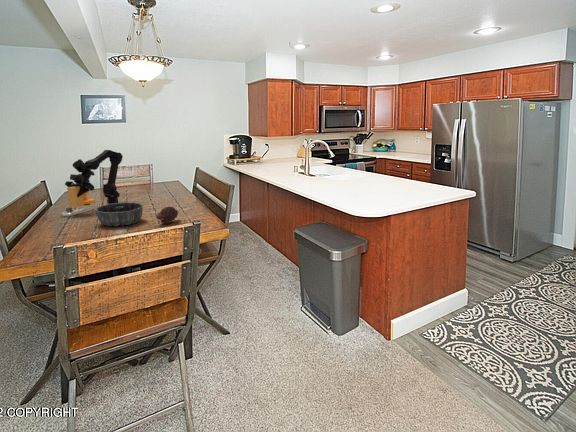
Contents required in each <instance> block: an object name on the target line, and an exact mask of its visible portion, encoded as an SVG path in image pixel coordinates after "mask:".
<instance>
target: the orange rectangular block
mask: <svg viewBox="0 0 576 432" xmlns="http://www.w3.org/2000/svg"><path fill="white" fill-rule="evenodd" d="M66 190H67V196H68V202H69V207H72V208H79V207H83V206H85V204H84V203H83V196H82V195H81V196H79V197H77V194H78V192H79V190H80V186H73V187H67V188H66Z"/></svg>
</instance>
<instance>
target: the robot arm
mask: <svg viewBox="0 0 576 432" xmlns="http://www.w3.org/2000/svg"><path fill="white" fill-rule="evenodd" d="M108 158H109V162H110V167H109V173H108V178H107V182H106V184H103V187H102V188H103V189H102V191H103V192H102V193H103V195H104V197H105V198H107V199H106V202H107V203H106V205H107V204H114V203H119V197H120V192H119V191H118V190H117V185H116V180H117V176H118V169H119V165H120V164H121V163H122V161H123V154H122V153H121V152H117V151H113V150H110V149H104V150H103V151H102V152H101V153H99V154H98V155H97V156H95V157H94V158H91V159H88V160H87V161H85V162H84V161H83V160H82V158H81V159H77V160H76V161H74V162H73V163H72V168H73V169H75V170H76V171H77V172H79V173H78V174H73V173H72V174H71V173H70V176H69V180H70V181H66V182H65V183H64V185H65V187H67V188H68V187H73V186H80V190H79V192H78V194H77V197H79V196H81V195H82V194H84V193H86V192H88V191H89V192H90V191H94V190H95V186H94V185H93V184H92V183H91V182H90V179H91V177H92V176H95V171H94V170H97V169H99V168H100V164H102V163H103V162H104V161H105V160H107V159H108Z"/></svg>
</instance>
